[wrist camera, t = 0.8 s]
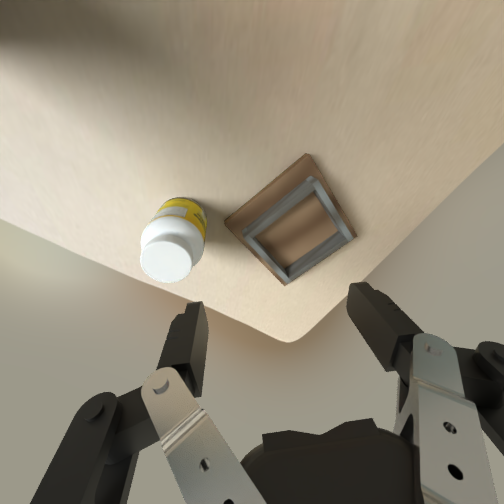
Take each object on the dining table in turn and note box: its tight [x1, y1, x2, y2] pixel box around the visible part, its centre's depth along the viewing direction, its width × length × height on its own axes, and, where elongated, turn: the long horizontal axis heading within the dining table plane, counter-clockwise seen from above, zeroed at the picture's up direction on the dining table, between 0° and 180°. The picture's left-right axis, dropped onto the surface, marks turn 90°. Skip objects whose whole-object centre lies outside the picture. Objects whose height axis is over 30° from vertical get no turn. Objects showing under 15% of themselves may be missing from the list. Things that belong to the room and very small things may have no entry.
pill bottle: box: [140, 197, 207, 283], centre depth 25 cm, size 6×6×12 cm
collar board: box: [225, 154, 357, 286], centre depth 31 cm, size 15×14×4 cm
